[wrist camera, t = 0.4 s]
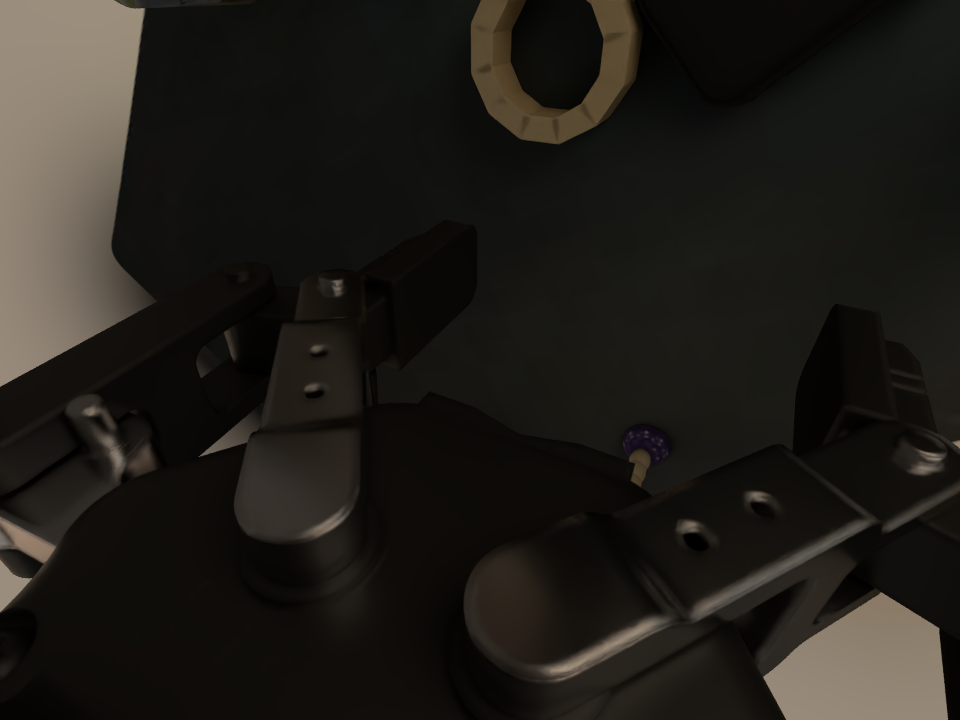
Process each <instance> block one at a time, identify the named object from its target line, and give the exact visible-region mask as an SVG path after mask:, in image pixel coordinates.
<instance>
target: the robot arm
mask: <svg viewBox="0 0 960 720" xmlns="http://www.w3.org/2000/svg"><path fill="white" fill-rule="evenodd" d="M476 285H477V231H476V228H475V227H474V226H473V225H470V224H465V223H460V222H456V221H451V220H444V221H442V222H441V223H439V224H438V225H436V226H435V227H433V228H432V229H430V230H429V231H427V232H426V233H424V234H422V235H419V236H416V237H413V238H409V239H407V240H405V241H403V242H402V243H400V244H399V245H397V246H396V247H394V249H391V250H390V251H388V252H387V253H385V254H384V256H380V257H379V258H377V259H376V260H374V261H373V262H371V263H370V264H368V265H367V266H365V267H364V268H362V269H361V270H359V271H357V272H354V271H351V270H345V269H332V270H325V271H321V272H317V273H315V274H312V275H310V276H309V277H307V278H306V279H304V280H303V282H302V283H301V285H300V287H287V286H275V284H274V279H273V275H272V271H271V269H270V267H268V266H267V265H265V264H261V263H256V262H241V263H235V264H230V265H227V266H224V267H221V268H219V269H217V270H215V271H213V272H211V273H209V274H207V275H205V276H204V277H202V278H200V279H198V280H196V281H194V282H192V283H191V284H189V285H187V286H185V287H183V288H181V289H180V290H178V291H176V292H174V293H172V294H170V295H169V296H167V297H165V298H163V299H161V300H159V301H157V302H156V303H154V304H152V305H150V306H148V307H146V308H145V309H143V310H141V311H139V312H137V313H135V314H134V315H132V316H130V317H128V318H126V319H124V320H122V321H121V322H119V323H117V324H115V325H113V326H112V327H110V328H108V329H106V330H104V331H102V332H100V333H98V334H97V335H95V336H93V337H91V338H89V339H87V340H86V341H84V342H82V343H80V344H78V345H76V346H75V347H73V348H71V349H69V350H67V351H66V352H63V353H62V354H60V355H58V356H56V357H54V358H52V359H51V360H49V361H47V362H45V363H43V364H41V365H39V366H38V367H36V368H34V369H32V370H30V371H29V372H27V373H25V374H23V375H21V376H19V377H17V378H16V379H14V380H12V381H10V382H8V383H7V384H5V385H3V386H1V387H0V560H1V561H2V562H3V563H4V564H5V565H6V566H7V568H8V569H9V570H10V571H11V572H12V573H13V574H14V575H16V576H18V577H22V578H32V580H31V581H30V582H29V583H28V584H27V585H26V586H25V588H24V589H23V590H22V591H21V592H20V593H19V594H18V595H17V596H16V597H15V598H14V599H13V600H12V601H11V602H10V603H9V604H8V605H7V606H6V607H5V608H4V609H3V610H2V611H1V612H0V720H786V719H785V717H784V715H783V713H782V711H781V710H780V708H779V706H778V704H777V702H776V700H775V699H774V697H773V695H772V693H771V691H770V689H769V687H768V685H767V684H766V682H765V680H764V678H763V676H765V675H766V674H767V673H769V672H770V671H771V670H773V669H774V668H775V667H776V666H777V665H778V664H780V663H781V662H782V661H783V660H784V659H785V658H786V657H787V656H788V655H789V654H790V653H791V652H792V651H793V650H794V649H795V648H797V647H798V646H799V645H800V644H802V643H803V642H804V641H806V640H807V639H809V638H810V637H812V636H813V635H815V634H817V633H818V632H820V631H821V630H823V629H824V628H826V627H828V626H829V625H831V624H833V623H834V622H836V621H837V620H839V619H840V618H842V617H844V616H845V615H847V614H848V613H850V612H852V611H853V610H855V609H856V608H858V607H859V606H861V605H862V604H864V603H866V602H867V601H869V600H871V599H872V598H874V597H875V596H877V595H878V594H880V592H882V593H884V594H885V595H887V596H889V597H890V598H892V599H893V600H895V601H897V602H898V603H900V604H901V605H903V606H905V607H906V608H908V609H910V610H911V611H913V612H914V613H916V614H917V615H919V616H921V617H922V618H924V619H926V620H927V621H929V622H930V623H932V624H934V625H935V626H937V627H939V629H940V630H939V634H940V643H941V654H942V664H943V673H944V683H945V693H946V703H947V713H948V720H960V449H959V448H958V447H957V446H956V445H955V444H953V443H952V442H950V441H949V440H947V439H946V438H944V437H942V436H941V435H939V434H938V433H937V429H936V425H935V421H934V417H933V413H932V409H931V405H930V402H929V398H928V395H926V393H927V390H926V386H925V382H924V381H923V374H922V370H921V366H920V362H919V361H918V360H917V359H916V357H915V356H914V355H913V354H912V353H911V352H910V351H909V350H908V349H907V348H906V347H905V346H904V345H903V344H901V343H896V342H892V341H887V340H885V339H884V334H883V328H882V322H881V317H880V314H879V313H877V312H872V311H868V310H863V309H858V308H854V307H849V306H844V305H840V304H835V305H834V306H833V308H832V309H831V311H830V313H829V315H828V317H827V319H826V321H825V323H824V325H823V327H822V330H821V332H820V334H819V336H818V338H817V340H816V343H815V345H814V347H813V349H812V351H811V353H810V355H809V358H808V360H807V362H806V364H805V366H804V369H803V371H802V374H801V376H800V379H799V383H798V386H797V391H796V400H795V417H794V435H793V452H792V451H790V450H789V449H788V448H787V447H785V446H784V445H782V444H775V445H772V446H769V447H766V448H764V449H762V450H759V451H757V452H755V453H752V454H750V455H748V456H745V457H743V458H741V459H738V460H736V461H734V462H731V463H729V464H727V465H724V466H722V467H720V468H717V469H715V470H713V471H710V472H708V473H706V474H703V475H701V476H699V477H696V478H694V479H692V480H689V481H687V482H685V483H682V484H680V485H678V486H675V487H673V488H671V489H668V490H666V491H664V492H661V493H659V494H657V495H654V496H652V495H651V494H649V493H648V492H647V491H645V490H644V489H643V488H641V487H640V486H639V485H637V484H635V483H634V482H632V481H631V478H632V474H633V471H634V467H635V463H632V462H629V461H626V460H623V459H621V458H618V457H615V456H612V455H609V454H606V453H604V452H601V451H598V450H595V449H592V448H589V447H586V446H584V445H581V444H577V443H570V442H564V441H558V440H551V439H545V438H539V437H532V436H526V435H521V434H518V433H516V432H514V431H512V430H511V429H509V428H507V427H506V426H504V425H503V424H501V423H499V422H498V421H496V420H494V419H493V418H491V417H490V416H488V415H486V414H485V413H483V412H481V411H480V410H478V409H477V408H475V407H472V406H470V405H467V404H464V403H461V402H458V401H455V400H452V399H450V398H447V397H444V396H441V395H438V394H435V393H432V392H430V391H429V392H428V393H427V394H426V396H425V397H424V398H423V399H422V400H421V401H420V402H419V403H418V404H414V403H387V404H378V389H377V374H376V367H377V366H378V365H379V364H382V365H384V366H387V367H390V368H393V369H396V370H399V371H400V370H401V369H402V368H403V367H404V366H405V365H406V364H407V363H408V362H409V361H410V360H411V359H412V358H414V357H415V356H416V355H417V354H418V353H419V352H420V351H421V350H422V349H423V348H424V347H425V346H426V345H427V344H428V343H429V342H430V341H431V340H432V339H433V338H435V337H436V336H437V335H438V334H439V333H440V332H441V331H442V330H443V329H444V328H445V327H446V326H447V325H448V324H449V323H450V322H451V321H452V320H453V319H454V318H455V317H457V316H458V315H459V314H460V313H461V312H462V311H463V310H464V309H465V308H466V307H467V306H468V305H469V304H470V302H471V301H472V299H473V297H474V294H475V291H476ZM222 333H224V334H225V337H226V340H227V343H228V346H229V350H230V353H231V357H230V358H229V359H227V360H226V361H225V362H223V363H222V364H220V365H219V366H218V367H216V368H215V369H213V370H212V371H211V372H209V373H208V374H206V375H205V376H204V377H202V378H201V377H200V375H199V372H198V370H197V366H196V359H197V356H198V353H199V351H200V350H201V348H202V347H203V346H204V345H206V344H207V343H208V342H210V341H211V340H213V339H215V338H216V337H218V336H219V335H221V334H222ZM263 401H265V405H264V409H263V414H262V419H261V423H260V427H259V429H258V431H256V432H253V433H252V434H251V435H250V437H249V440H248V442H247V443H244V444H241V445H237V446H234V447H230V448H228V449H224V450H220V451H217V452H214V453H210V454H208V455H204V456H200V455H201V454H202V453H204V452H205V451H206V450H207V449H208V448H209V447H211V446H212V445H213V444H214V443H215V442H216V441H218V440H219V439H220V438H221V437H222V436H224V435H225V434H226V433H227V432H228V431H229V430H231V429H232V428H233V427H234V426H235V425H236V424H237V423H239V422H240V421H241V420H242V419H243V418H245V417H246V416H247V415H248V414H249V413H251V412H252V411H253V410H254V409H255V408H256V407H258V406H259V405H260V404H261V403H262V402H263ZM199 456H200V457H199Z"/></svg>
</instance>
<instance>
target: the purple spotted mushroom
mask: <svg viewBox="0 0 960 720" xmlns="http://www.w3.org/2000/svg"><path fill="white" fill-rule="evenodd" d="M623 446H624V450H625V452H626V454H627V455H628V457H629V462H632V463H635V467H634V471H633V474H632V478H631V481H632V482H634V483H635V484H637V485H639V486H640V487H641V482H642V481H643V480H644V478H645V475H646V470H647V469H648V467H649V466H654V465H657V464H660V463H662V462H663V461H664V460H665V459H666V458H667V457H668V455H669V454H670V451H671V445H670V442H669V440H668V438H667V437H666V436H665V435H664V434H663V433H662V432H661V431H659V430H658V429H656V428H653V427H650V426H647V425H636V426H633V427H631V428H629V429H628V430H627V431H626V432H625V434H624V438H623Z"/></svg>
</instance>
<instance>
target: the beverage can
mask: <svg viewBox="0 0 960 720" xmlns="http://www.w3.org/2000/svg"><path fill="white" fill-rule="evenodd" d="M115 1H117V2H118V3H120V4H122V5H124V6H126V7H129V8H158V7H183V6H207V5H232V4H251V3H254V2H256V1H257V0H115Z"/></svg>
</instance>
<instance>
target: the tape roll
mask: <svg viewBox="0 0 960 720" xmlns="http://www.w3.org/2000/svg"><path fill="white" fill-rule="evenodd" d="M587 1H588V2H589V3H591V5H592V7H593V10H594V13H595V16H596V19H597V21H598V24H599V27H600V30H601V32H602V35H603V38H604V42H603V51H602V59H601V67H600V75H599V77H598V79H597V80H596V82H595V83H594V85H593V86H592V88H591V89H590V91H589V93H588V94H587V96H586V97H585V99H584V100H583V102H582V103H581V104H580V105H578V106H576V107H574V108H572V109H570V110H565V109H556V108H546V107H542V106H541V105H540V104H539V103H538V102H536V101H535V100H534V99H533V98H531V97H530V96H529V95H528V94H526V93H525V92H524V91H523V90H522V88H521V86H520V83H519V81H518V78H517V76H516V74H515V71H514V69H513V66H512V64H511V34H512V29H513V26H514V24H515V22H516V20H517V18H518V16H519V14H520V12H521V10H522V8H523V6H524V4H525V2H526V0H481V2H480V4H479V7H478V9H477V11H476V14H475V16H474V18H473V20H472V23H471V74H472V77H473V79H474V81H475V83H476V86H477V88H478V90H479V92H480V95H481V97H482V99H483V101H484V104H485V106H486V108H487V110H488V113H489V114H490V115H491V116H492V117H494V118H495V119H496V120H497V121H499V122H500V123H501V124H502V125H503V126H505V127H506V128H507V129H508V130H510V131H511V132H512V133H513V134H515V135H516V136H517V137H518V138H519V139H521V140H529V141H537V142H545V143H553V144H560V143H563V142H565V141H567V140H569V139H571V138H573V137H575V136H577V135H579V134H581V133H583V132H585V131H587V130H589V129H591V128H593V127H596V126H597V125H599V124H600V123H601V122H603V121H604V120H606V119H607V118H609V117H610V116H611V114H612V113H613V111H614V110H615V108H616V107H617V106H618V104H619V103H620V101H621V100H622V98H623V97H624V96H625V94H626V93H627V91H628V90H629V88H630V87H631V85H632V84H633V83H634V81H635V80H636V75H637V69H638V62H639V56H640V49H641V43H642V36H643V28H644V27H643V24H642V21H641V18H640V15H639V12H638V9H637V6H636V3H635V0H587Z"/></svg>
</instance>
